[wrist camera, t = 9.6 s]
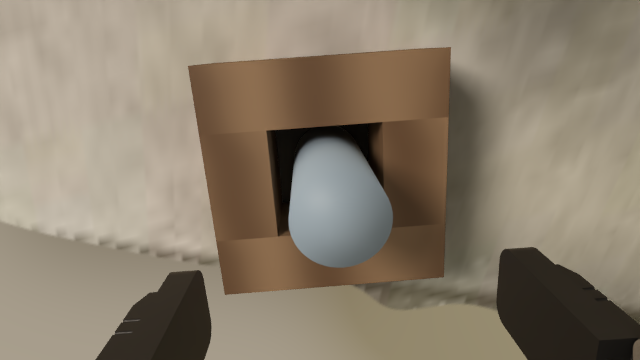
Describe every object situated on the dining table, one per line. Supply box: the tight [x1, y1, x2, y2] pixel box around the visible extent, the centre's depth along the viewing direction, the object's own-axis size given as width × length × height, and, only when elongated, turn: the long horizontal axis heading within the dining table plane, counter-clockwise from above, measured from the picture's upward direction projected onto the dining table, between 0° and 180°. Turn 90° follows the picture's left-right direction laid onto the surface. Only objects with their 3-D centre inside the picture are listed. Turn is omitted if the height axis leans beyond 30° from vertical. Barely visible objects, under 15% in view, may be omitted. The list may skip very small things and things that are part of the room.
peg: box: [289, 126, 393, 268], centre depth 20 cm, size 4×4×10 cm
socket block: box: [188, 47, 451, 295], centre depth 22 cm, size 12×12×5 cm
